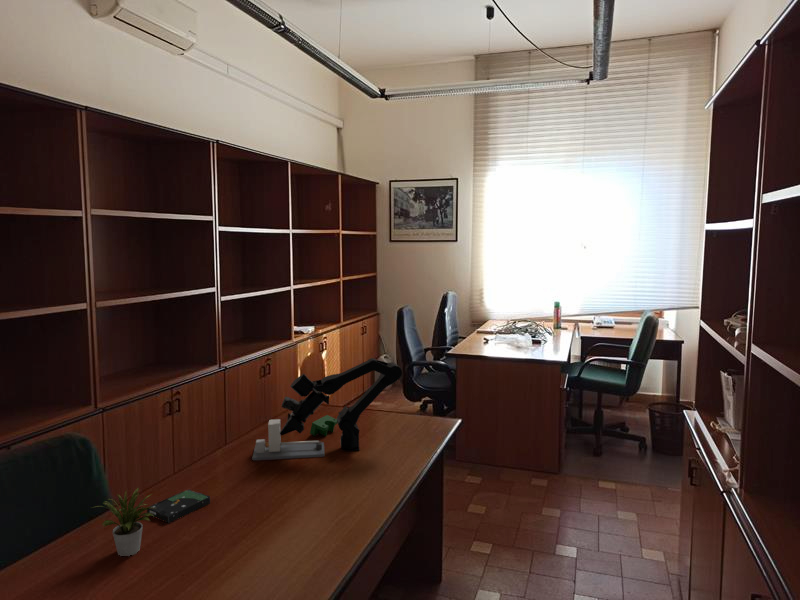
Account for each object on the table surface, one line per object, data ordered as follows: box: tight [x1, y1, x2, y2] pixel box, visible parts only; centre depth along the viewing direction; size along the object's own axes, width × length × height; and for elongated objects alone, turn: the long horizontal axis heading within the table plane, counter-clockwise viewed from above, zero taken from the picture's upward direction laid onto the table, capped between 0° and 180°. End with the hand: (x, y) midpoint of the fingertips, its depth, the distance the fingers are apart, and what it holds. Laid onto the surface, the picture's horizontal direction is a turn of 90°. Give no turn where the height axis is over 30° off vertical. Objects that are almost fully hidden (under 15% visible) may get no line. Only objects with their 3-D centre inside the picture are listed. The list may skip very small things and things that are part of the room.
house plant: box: [91, 487, 154, 557], centre depth 147 cm, size 14×14×16 cm
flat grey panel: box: [251, 439, 326, 461], centre depth 216 cm, size 26×12×5 cm, turn 99°
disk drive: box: [146, 489, 211, 524], centre depth 172 cm, size 10×3×15 cm
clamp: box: [309, 414, 338, 437], centre depth 237 cm, size 12×6×9 cm, turn 148°
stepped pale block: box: [267, 418, 282, 452], centre depth 215 cm, size 4×6×10 cm, turn 9°
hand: (280, 434), depth 215 cm, fingers closed, pressing on stepped pale block
